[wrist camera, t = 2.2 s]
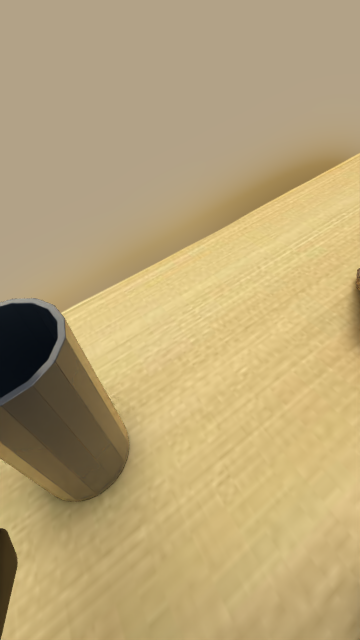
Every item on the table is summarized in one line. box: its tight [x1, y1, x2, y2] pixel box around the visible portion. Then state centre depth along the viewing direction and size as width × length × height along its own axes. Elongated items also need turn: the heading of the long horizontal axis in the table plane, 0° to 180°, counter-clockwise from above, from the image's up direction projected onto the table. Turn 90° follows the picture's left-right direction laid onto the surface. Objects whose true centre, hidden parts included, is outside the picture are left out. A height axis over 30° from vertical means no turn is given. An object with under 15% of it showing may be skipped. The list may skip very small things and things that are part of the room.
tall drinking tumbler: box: [0, 298, 129, 502], centre depth 20 cm, size 7×7×13 cm
